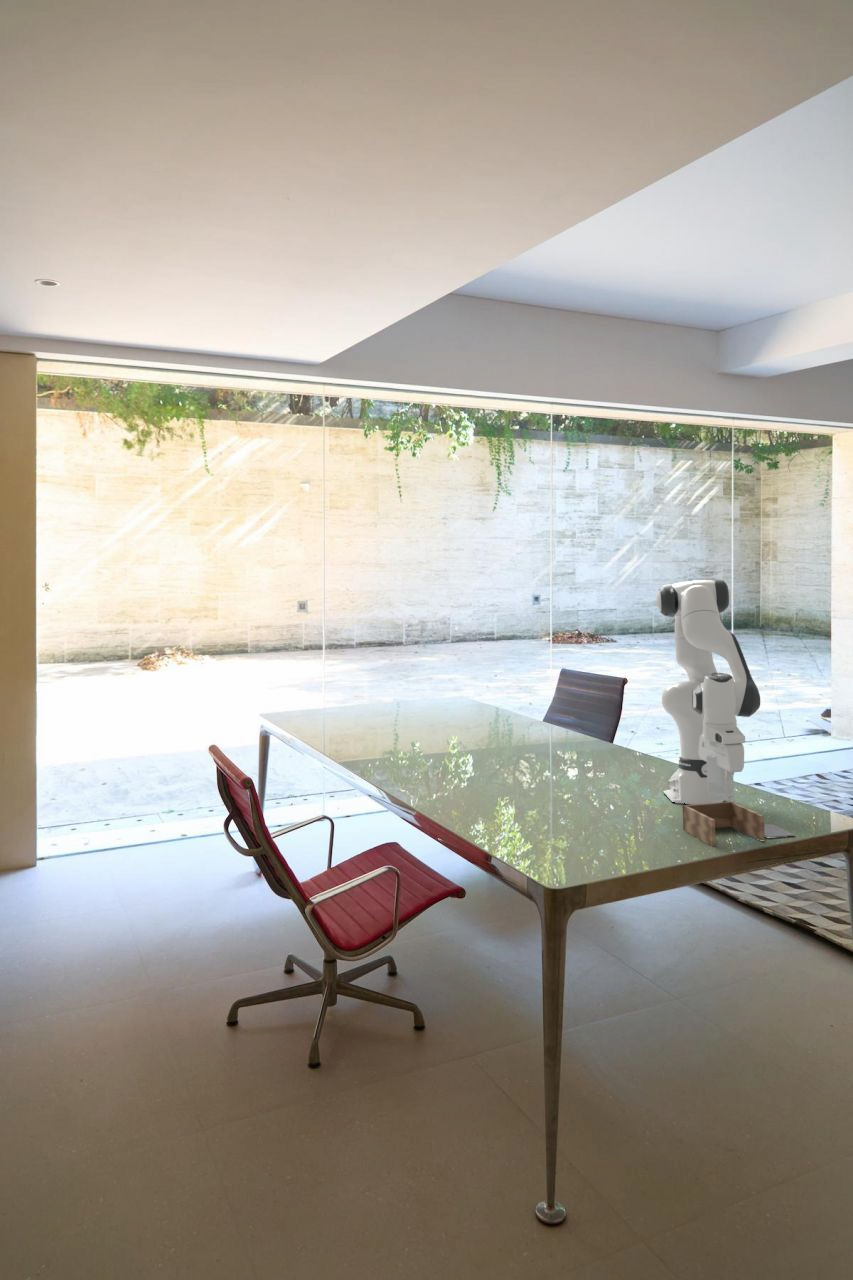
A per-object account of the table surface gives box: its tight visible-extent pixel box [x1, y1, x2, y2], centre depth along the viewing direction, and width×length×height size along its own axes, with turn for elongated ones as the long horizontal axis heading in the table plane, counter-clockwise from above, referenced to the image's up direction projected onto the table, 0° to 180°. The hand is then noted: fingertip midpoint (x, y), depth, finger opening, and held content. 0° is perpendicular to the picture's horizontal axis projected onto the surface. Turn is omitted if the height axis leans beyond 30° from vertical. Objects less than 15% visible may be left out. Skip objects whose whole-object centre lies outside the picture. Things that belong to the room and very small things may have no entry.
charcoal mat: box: [764, 824, 796, 838], centre depth 258 cm, size 12×8×1 cm, turn 9°
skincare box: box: [706, 755, 735, 802], centre depth 257 cm, size 6×4×12 cm
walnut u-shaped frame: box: [682, 801, 766, 847], centre depth 257 cm, size 18×15×7 cm
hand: (720, 781), depth 257 cm, fingers closed on skincare box, 7 cm apart
